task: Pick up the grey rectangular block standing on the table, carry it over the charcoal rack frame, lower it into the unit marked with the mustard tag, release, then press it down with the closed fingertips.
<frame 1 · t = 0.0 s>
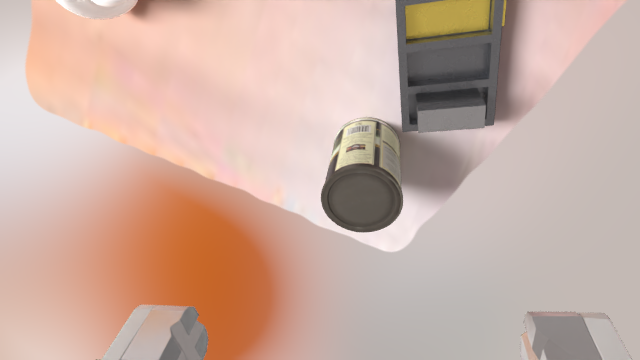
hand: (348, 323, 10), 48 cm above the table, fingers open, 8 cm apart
coffee can: (367, 146, 62), on the table
rack: (445, 58, 52), on the table
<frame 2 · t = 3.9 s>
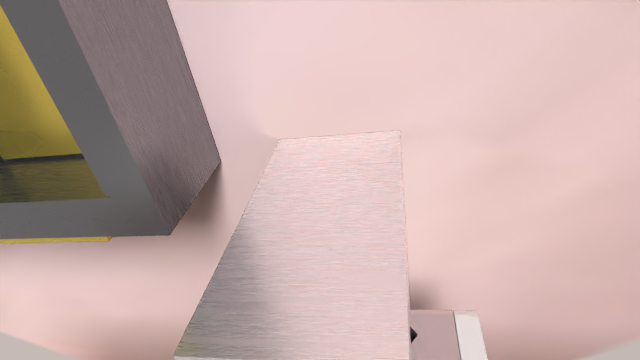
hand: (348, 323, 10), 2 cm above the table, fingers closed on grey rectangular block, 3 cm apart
grey rectangular block: (355, 254, 12), on the table, touching gripper
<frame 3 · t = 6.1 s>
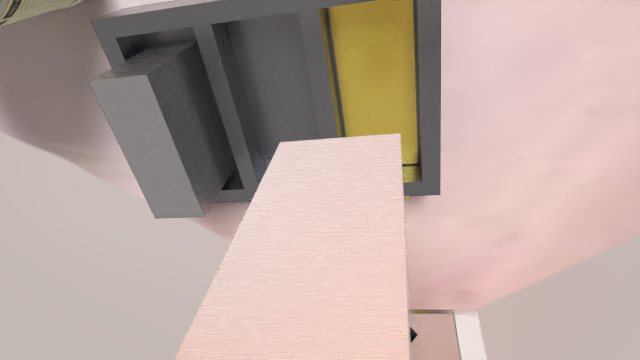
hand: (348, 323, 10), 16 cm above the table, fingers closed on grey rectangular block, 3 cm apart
rack: (287, 92, 24), on the table
grey rectangular block: (356, 256, 12), point 14 cm above the table, touching gripper
when the fingers open (5 cm above the table, at t = 8.2 s): grey rectangular block drops 1 cm, resting on rack.
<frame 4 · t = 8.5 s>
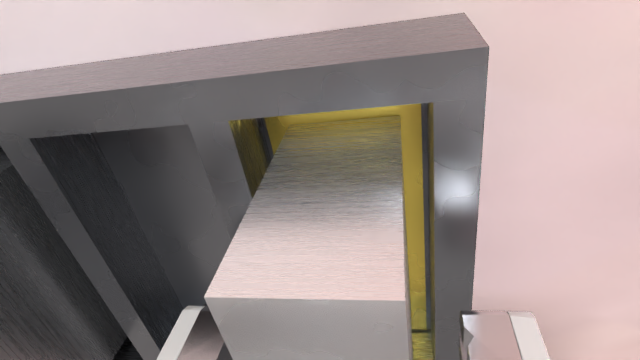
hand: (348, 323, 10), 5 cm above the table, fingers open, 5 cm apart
rack: (212, 215, 15), on the table
grey rectangular block: (358, 233, 13), point 1 cm above the table, touching rack
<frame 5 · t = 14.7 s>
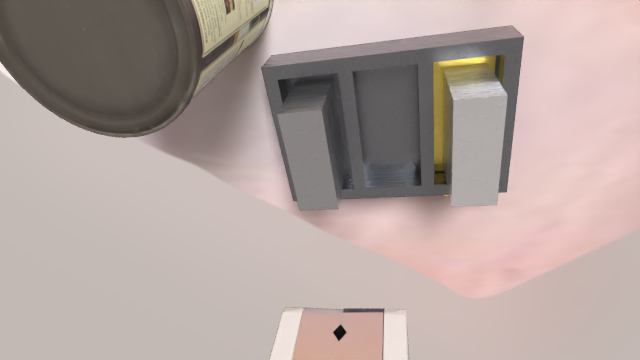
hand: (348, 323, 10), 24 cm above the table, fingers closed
rack: (389, 116, 32), on the table
grey rectangular block: (463, 116, 30), point 1 cm above the table, touching rack
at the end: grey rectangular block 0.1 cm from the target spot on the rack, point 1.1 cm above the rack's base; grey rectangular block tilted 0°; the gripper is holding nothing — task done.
